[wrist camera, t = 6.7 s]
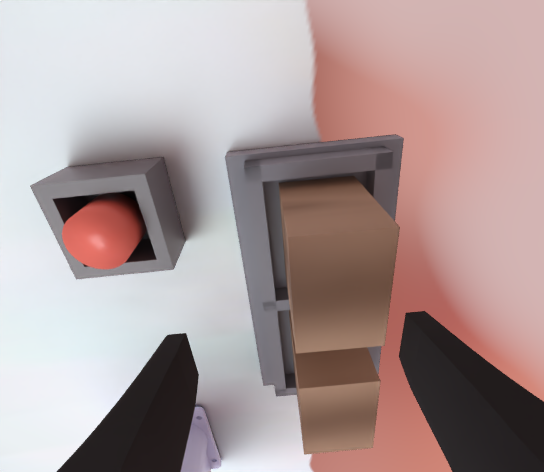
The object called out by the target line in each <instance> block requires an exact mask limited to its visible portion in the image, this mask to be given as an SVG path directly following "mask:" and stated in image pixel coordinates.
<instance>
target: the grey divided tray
mask: <svg viewBox="0 0 544 472" xmlns="http://www.w3.org/2000/svg"><path fill="white" fill-rule="evenodd" d="M403 140H404V139H403V138H402V137H400V136H398V135H386V136H377V137H367V138H358V139H348V140H338V141H329V142H319V143H310V144H300V145H291V146H281V147H272V148H262V149H253V150H243V151H234V152H227V153H226V156H225V159H226V165H227V171H228V177H229V183H230V189H231V195H232V201H233V207H234V213H235V219H236V225H237V231H238V237H239V243H240V249H241V254H242V260H243V266H244V272H245V278H246V284H247V290H248V296H249V302H250V308H251V314H252V320H253V326H254V332H255V338H256V344H257V350H258V356H259V362H260V367H261V373H262V379H263V385H264V386H266V385H274V386H275V393H276V396H286V395H297V389H296V380H295V372H294V362H293V351H292V340H291V329H290V318H289V310H290V305H289V297H288V289H287V282H286V273H285V261H284V248H283V235H282V222H281V209H280V196H279V183H282V182H293V181H303V180H314V179H325V178H335V177H346V176H355V177H356V179H357V180H358V181H359V182H360V183H361V184H362V185H363V186H364V188H365V189H366V190H367V191H368V192H369V193H370V194H371V195H372V197H373V198H374V199H375V200H376V201H377V202H378V203H379V204H380V205H381V207H382V208H383V209H384V210H385V211H386V212H387V213H388V214H389V216H390V217H391V218H392V219H393V220H394V221H395V214H396V204H397V196H398V186H399V177H400V167H401V158H402V148H403ZM367 348H368V351H369V353H370V356H371V358H372V361H373V363H374V366H375V368H376V371H377V374H378V372H379V363H380V354H381V346H375V347H367Z"/></svg>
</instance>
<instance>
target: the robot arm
mask: <svg viewBox="0 0 544 472" xmlns="http://www.w3.org/2000/svg"><path fill="white" fill-rule="evenodd" d="M399 358H400V361H401V364H402V366H403V369H404V372H405V375H406V377H407V380H408V382H409V385H410V388H411V390H412V392H413V394H414V396H415V398H416V400H417V402H418V404H419V406H420V408H421V410H422V412H423V414H424V416H425V418H426V420H427V422H428V424H429V426H430V428H431V430H432V432H433V434H434V436H435V437H436V439H437V441H438V443H439V445H440V447H441V449H442V451H443V453H444V455H445V457H446V459H447V461H448V463H449V465H450V467H451V470H452V472H544V402H543V401H542V400H540V399H539V398H537V397H536V396H534V395H533V394H532V393H530V392H529V391H527V390H526V389H524V388H523V387H522V386H520V385H519V384H517V383H516V382H515V381H513V380H512V379H510V378H509V377H508V376H506V375H505V374H503V373H502V372H501V371H500V370H498V369H497V368H495V367H494V366H493V365H492V364H490V363H489V362H487V361H486V360H485V359H484V358H482V357H481V356H480V355H479V354H477V353H476V352H475V351H473V350H472V349H471V348H470V347H468V346H467V345H466V344H465V343H463V342H462V341H461V340H460V339H458V338H457V337H456V336H455V335H453V334H452V333H451V332H450V331H448V330H447V329H446V328H445V327H444V326H442V325H441V324H440V323H439V322H438V321H436V320H435V319H434V318H433V317H431V316H430V315H429V314H428V313H426V312H425V311H422V312H410V313H406V315H405V322H404V328H403V334H402V340H401V346H400V353H399ZM198 376H199V374H198V371H197V368H196V364H195V361H194V358H193V355H192V351H191V348H190V345H189V341H188V338H187V335H186V333H183V334H172V335H167V336H166V337H165V339H164V340H163V341H162V343H161V344H160V346H159V347H158V348H157V350H156V351H155V353H154V354H153V355H152V357H151V358H150V360H149V361H148V362H147V364H146V365H145V366H144V368H143V369H142V371H141V372H140V373H139V375H138V376H137V377H136V379H135V380H134V381H133V383H132V384H131V385H130V386H129V388H128V389H127V390H126V392H125V393H124V394H123V396H122V397H121V398H120V400H119V401H118V402H117V403H116V405H115V406H114V407H113V408H112V409H111V411H110V412H109V413H108V414H107V415H106V417H105V418H104V419H103V420H102V422H101V423H100V424H99V425H98V426H97V428H96V429H95V430H94V431H93V432H92V433H91V435H90V436H89V437H88V438H87V439H86V440H85V441H84V443H83V444H82V445H81V446H80V447H79V448H78V449H77V450H76V451H75V453H74V454H73V455H72V456H71V457H70V458H69V459H68V460H67V461H66V462H65V463H64V464H63V466H62V467H61V468H60V469H59V470H58V471H57V472H211V469H214V468H219V467H221V459H220V456H219V453H218V450H217V447H216V444H215V441H214V438H213V435H212V432H211V428H210V425H209V422H208V419H207V416H206V413H205V410H204V409H203V408H202V407H195V403H196V395H197V386H198Z"/></svg>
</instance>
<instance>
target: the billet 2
mask: <svg viewBox="0 0 544 472" xmlns="http://www.w3.org/2000/svg"><path fill="white" fill-rule="evenodd" d="M289 318H290V329H291V340H292V351H293V362H294V372H295V380H296V389H297V397H298V406H299V414H300V423H301V431H302V440H303V448H304V454H314V453H324V452H335V451H346V450H357V449H368V448H373V442H374V433H375V424H376V415H377V406H378V398H379V389H380V379H379V376H378V374H377V371H376V368H375V366H374V363H373V361H372V358H371V356H370V353H369V351H368V348H367V347H364V348H352V349H341V350H330V351H319V352H308V353H297V354H296V351H295V343H294V335H293V328H292V320H291V312H290V310H289Z"/></svg>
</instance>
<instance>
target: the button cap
mask: <svg viewBox="0 0 544 472" xmlns="http://www.w3.org/2000/svg"><path fill="white" fill-rule="evenodd" d="M146 231H147V228H146V225H145V222H144V219H143V216H142V213H141V210H140V207H139V204H138V203H137V202H136V201H135V200H133V199H132V198H130V197H128V196H126V195H123V194H119V193H104V194H101V195H99V196H97V197H96V198H94V199H93V200H92V201H91V202H89V203H88V204H87V205H86V206H84V207H83V208H82V209H80V210H79V211H78V212H77V213H75V214H74V215H73V216H72V217H70V218H69V219H68V220H67V221H66V223H65V224H64V226H63V230H62V239H63V242H64V245H65V247H66V248H67V250H68V251H69V253H70V254H71V255H72V256H73V257H74V258H75V259H77V260H78V261H79V262H81V263H83V264H85V265H87V266H90V267H93V268H97V269H113V268H116V267H119V266H121V265H122V264H124V263H125V262H126V261H127V259H128V258H129V257H130V255H131V254H132V252H133V251H134V249H135V248H136V246H137V245H138V244H139V242H140V241H141V239H142V238H143V236H144V235H145V233H146Z"/></svg>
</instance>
